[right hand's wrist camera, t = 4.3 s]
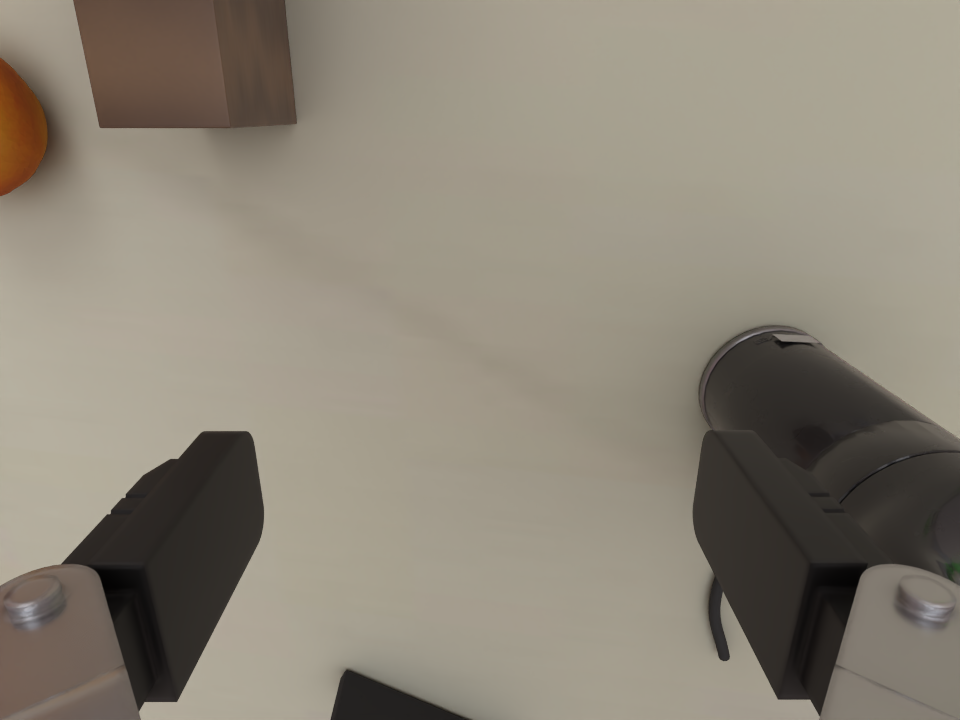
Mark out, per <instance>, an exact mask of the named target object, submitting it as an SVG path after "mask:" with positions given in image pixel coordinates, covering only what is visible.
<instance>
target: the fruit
mask: <svg viewBox="0 0 960 720" xmlns="http://www.w3.org/2000/svg"><path fill="white" fill-rule="evenodd" d="M47 139H48V137H47V123H46V119H45V115H44V111H43V109H42V107H41V105H40V102H39V101H38V99H37V97H36V96H35V94H34V93H33V92H32V91H31V89H30V88H29V87H28V86H27V84H26V83H25V82H24V81H23V80H22V78H21V77H20V76H19V75H18V74H17V73H16V71H15V70H14V69H13V68H12V67H11V66H10V65H8V64H7V63H6V62H5V61H4V60H3V59H1V58H0V196H2V195H5V194H7V193H9V192H11V191H12V190H14V189H15V188H17V187H18V186H20V185H22V184H23V183H25V182H26V181H27V180H28V179H29V178H30V177H31V176H32V175H33V174H34V173H35V171H36V169H37V168H38V166H39V164H40V162H41V160H42V159H43V156H44V154H45V151H46V147H47Z"/></svg>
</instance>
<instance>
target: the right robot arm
mask: <svg viewBox="0 0 960 720" xmlns="http://www.w3.org/2000/svg"><path fill="white" fill-rule="evenodd" d="M699 400H700V407H701V410H702V413H703V416H704V418H705V419H706V421H707V423H708V424H709V426H710V427H711V428H712V430H709V431H708V432H707V433H706V434H705V436H704V439H703V443H702V449H701V455H700V462H699V469H698V476H697V482H696V489H695V496H694V503H693V524H694V530H695V534H696V537H697V540H698V543H699V545H700V547H701V549H702V551H703V552H704V554H705V556H706V558H707V560H708V562H709V564H710V566H711V568H712V570H713V572H714V574H715V579H714V582H713V585H712V589H711V594H710V600H709V620H710V626H711V630H712V633H713V637H714V640H715V643H716V647H717V651H718V656H719V658H720V660H722V661H727V660H729V658H730V655H729V650H728V646H727V642H726V639H725V635H724V632H723V628H722V624H721V617H720V605H721V598H722V593H723V592H724V594H725V596H726V598H727V600H728V602H729V604H730V606H731V608H732V610H733V612H734V614H735V616H736V618H737V619H738V621H739V623H740V625H741V627H742V629H743V631H744V633H745V635H746V637H747V639H748V641H749V643H750V645H751V647H752V649H753V651H754V653H755V655H756V657H757V659H758V661H759V663H760V665H761V667H762V669H763V671H764V673H765V675H766V677H767V679H768V681H769V683H770V685H771V687H772V688H773V690H774V692H775V694H776V696H777V698H778V699H810V700H811V702H812V703H813V705H814V707H815V709H816V710H817V712H818V714H819V716H820V719H819V720H960V439H959V438H957V437H956V436H954V435H953V434H952V433H950V432H949V431H947V430H945V429H944V428H942V427H941V426H939V425H938V424H937V423H935V422H934V421H932V420H931V419H929V418H928V417H926V416H925V415H923V414H922V413H920V412H919V411H917V410H916V409H915V408H913V407H912V406H910V405H909V404H907V403H906V402H904V401H903V400H901V399H900V398H898V397H897V396H896V395H894V394H893V393H891V392H890V391H888V390H887V389H885V388H884V387H882V386H881V385H879V384H878V383H876V382H875V381H874V380H872V379H871V378H869V377H868V376H866V375H865V374H863V373H862V372H860V371H859V370H857V369H856V368H854V367H853V366H852V365H850V364H849V363H847V362H846V361H844V360H843V359H841V358H840V357H838V356H837V355H835V354H834V353H832V352H831V351H829V350H828V349H827V348H825V347H824V346H823V345H822V344H821V343H820V342H819V341H818V340H816V339H815V338H813V337H812V336H810V335H809V334H807V333H805V332H803V331H801V330H798V329H796V328H792V327H786V326H767V327H761V328H756V329H753V330H750V331H748V332H745V333H743V334H741V335H739V336H737V337H735V338H734V339H732V340H731V341H729V342H728V343H727V344H725V345H724V346H723V347H722V348H721V349H720V350H719V351H718V352H717V353H716V354H715V356H714V357H713V358H712V359H711V361H710V362H709V364H708V366H707V368H706V369H705V372H704V374H703V377H702V380H701V384H700V391H699ZM263 523H264V506H263V499H262V492H261V486H260V479H259V472H258V466H257V459H256V452H255V446H254V441H253V438H252V436H251V434H250V433H249V432H247V431H204V432H202V433H201V434H200V435H199V436H198V437H197V438H196V439H195V440H194V441H193V443H192V444H191V445H190V446H189V447H188V448H187V449H186V451H185V452H184V453H183V454H182V455H181V456H180V458H179V459H170V460H168V461H167V462H165V463H163V464H162V465H160V466H158V467H156V468H155V469H153V470H151V471H150V472H148V473H146V474H145V475H143V476H142V477H141V478H140V480H139V481H138V482H137V483H136V484H135V485H134V486H133V487H132V488H131V489H130V490H129V491H128V493H127V494H126V498H122V499H121V500H120V501H119V502H118V503H117V504H116V505H115V507H114V508H113V509H112V510H111V514H107V515H106V516H105V517H104V518H103V520H102V521H101V522H100V523H99V524H98V525H97V526H96V527H95V528H94V529H93V530H92V531H91V532H90V534H89V535H88V536H87V537H86V538H85V539H84V540H83V541H82V542H81V543H80V544H79V545H78V546H77V548H76V549H75V550H74V551H73V552H72V553H71V554H70V555H69V556H68V557H67V558H66V559H65V561H64V562H63V563H62V564H61V565H53V566H49V567H44V568H40V569H37V570H34V571H31V572H28V573H26V574H23V575H20V576H18V577H16V578H14V579H12V580H10V581H8V582H6V583H5V584H3V585H1V586H0V720H141V719H140V715H139V711H140V709H141V707H142V705H143V704H144V702H177V701H178V699H179V697H180V695H181V693H182V691H183V689H184V687H185V685H186V683H187V681H188V680H189V678H190V676H191V674H192V672H193V670H194V668H195V666H196V664H197V662H198V660H199V658H200V656H201V654H202V652H203V650H204V648H205V646H206V644H207V643H208V641H209V639H210V637H211V635H212V633H213V631H214V629H215V627H216V625H217V623H218V621H219V619H220V617H221V615H222V613H223V611H224V609H225V607H226V606H227V604H228V602H229V600H230V598H231V596H232V594H233V592H234V590H235V588H236V586H237V584H238V582H239V580H240V578H241V576H242V574H243V572H244V570H245V569H246V567H247V565H248V563H249V561H250V559H251V557H252V555H253V553H254V551H255V549H256V547H257V545H258V543H259V541H260V538H261V534H262V530H263Z"/></svg>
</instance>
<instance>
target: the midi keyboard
mask: <svg viewBox="0 0 960 720" xmlns="http://www.w3.org/2000/svg"><path fill="white" fill-rule="evenodd" d="M331 720H466V719H463V718H461V717H458V716H456V715H454V714H451V713H449V712H446V711H444V710H442V709H439V708H437V707H434V706H432V705H430V704H427V703H425V702H422V701H420V700H418V699H415V698H413V697H410V696H408V695H405V694H403V693H401V692H398V691H396V690H393V689H391V688H389V687H386V686H384V685H381V684H379V683H377V682H374V681H372V680H369V679H367V678H365V677H362V676H360V675H357V674H355V673H353V672H350V671H348V670H346V671H345V673H344V674H343V676H342V677H341V679H340V683H339V687H338V692H337V696H336V700H335V704H334V708H333V712H332V716H331Z"/></svg>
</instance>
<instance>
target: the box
mask: <svg viewBox="0 0 960 720" xmlns="http://www.w3.org/2000/svg"><path fill="white" fill-rule="evenodd" d="M73 1H74V6H75V11H76V15H77V20H78V25H79V30H80V35H81V39H82V44H83V49H84V54H85V59H86V63H87V68H88V73H89V78H90V83H91V87H92V92H93V97H94V102H95V107H96V111H97V116H98V121H99V126H100V128H238V127H254V126H270V125H285V124H296V123H297V122H296V112H295V102H294V92H293V82H292V72H291V62H290V52H289V42H288V32H287V21H286V11H285V1H284V0H73Z"/></svg>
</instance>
